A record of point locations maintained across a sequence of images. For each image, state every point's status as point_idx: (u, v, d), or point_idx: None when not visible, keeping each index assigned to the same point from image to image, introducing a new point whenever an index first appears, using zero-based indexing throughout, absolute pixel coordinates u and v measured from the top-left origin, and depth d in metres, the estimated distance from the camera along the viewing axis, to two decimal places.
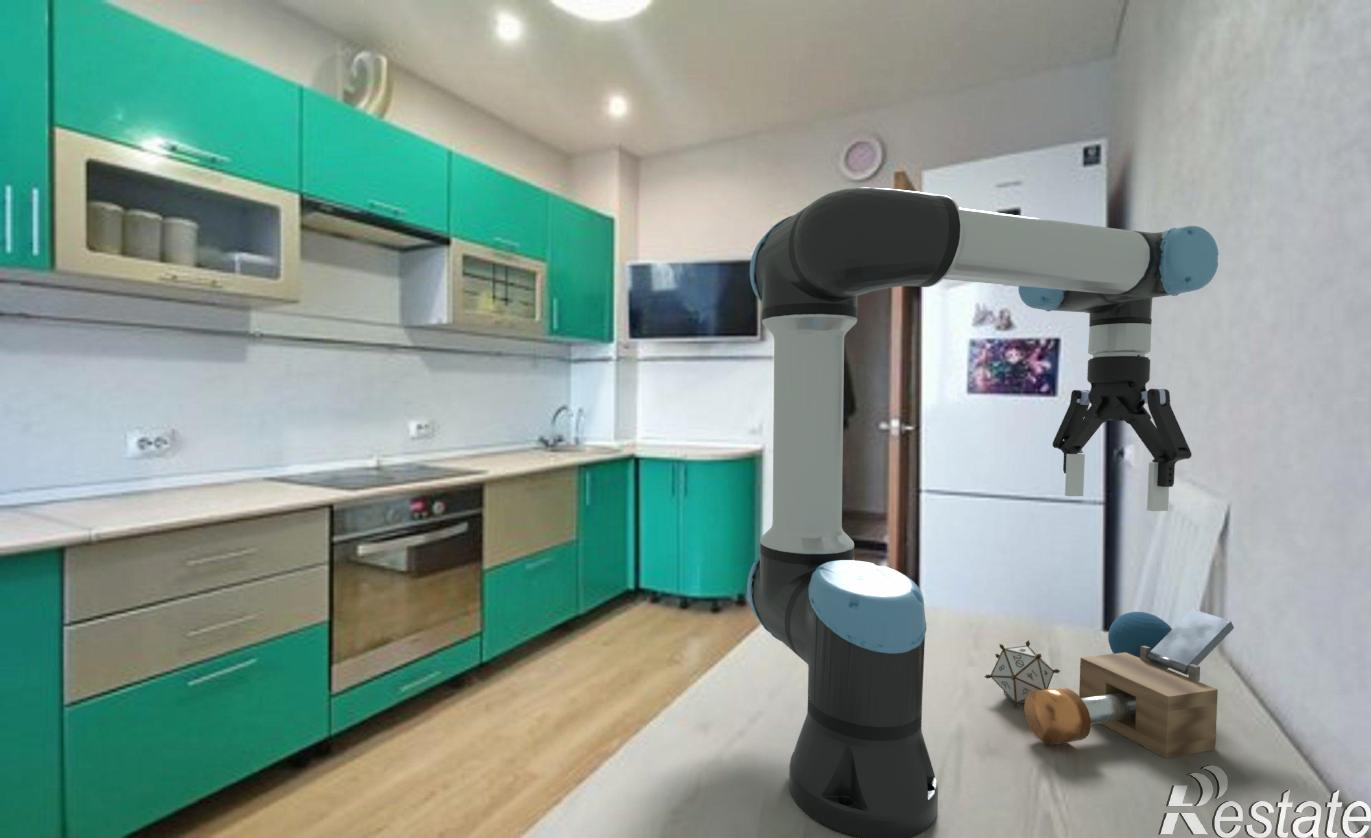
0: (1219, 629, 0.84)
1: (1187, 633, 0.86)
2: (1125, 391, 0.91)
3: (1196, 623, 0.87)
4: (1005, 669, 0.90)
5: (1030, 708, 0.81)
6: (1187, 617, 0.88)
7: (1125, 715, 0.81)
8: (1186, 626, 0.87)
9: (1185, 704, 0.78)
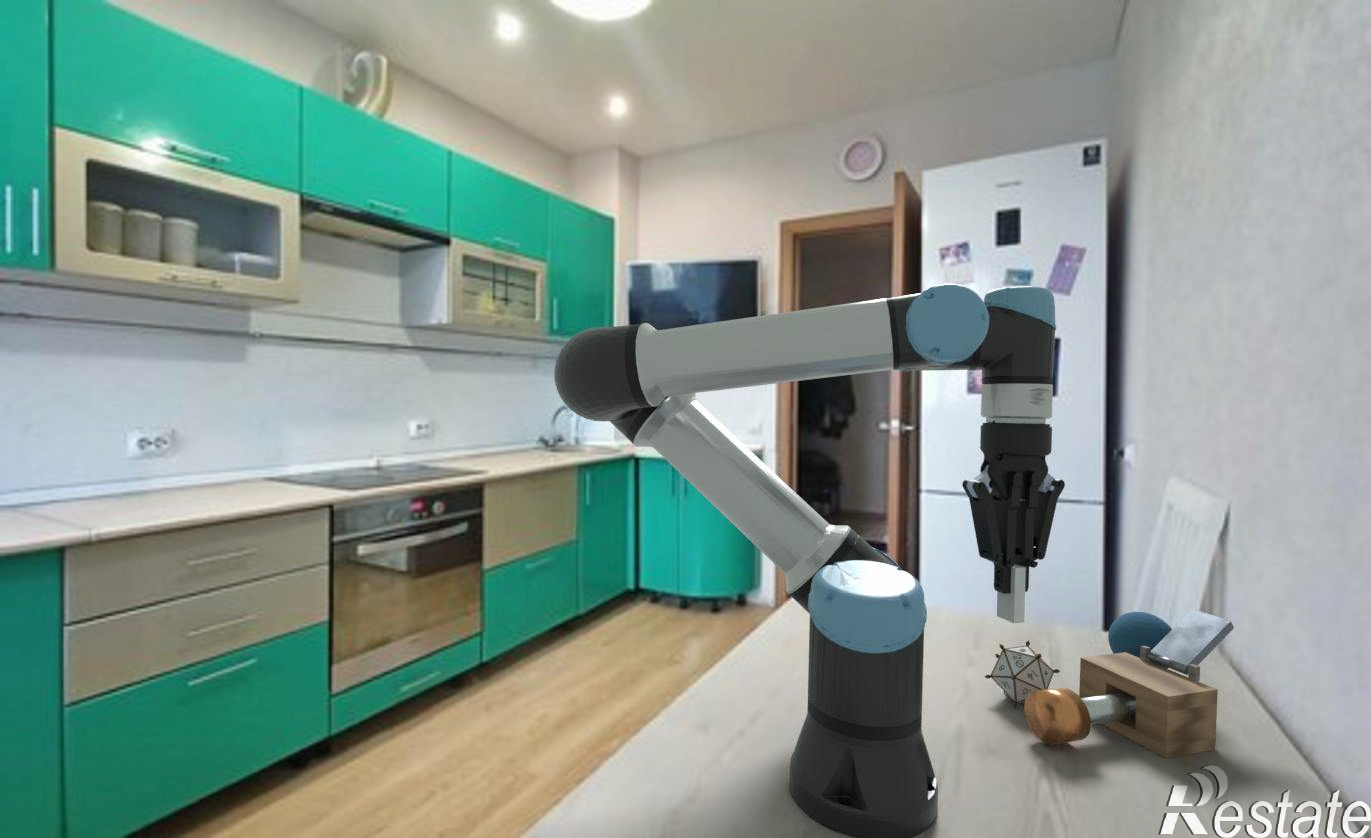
0: (1219, 629, 0.84)
1: (1187, 633, 0.86)
2: None
3: (1196, 623, 0.87)
4: (1005, 669, 0.90)
5: (1030, 708, 0.81)
6: (1187, 617, 0.88)
7: (1125, 715, 0.81)
8: (1186, 626, 0.87)
9: (1185, 704, 0.78)
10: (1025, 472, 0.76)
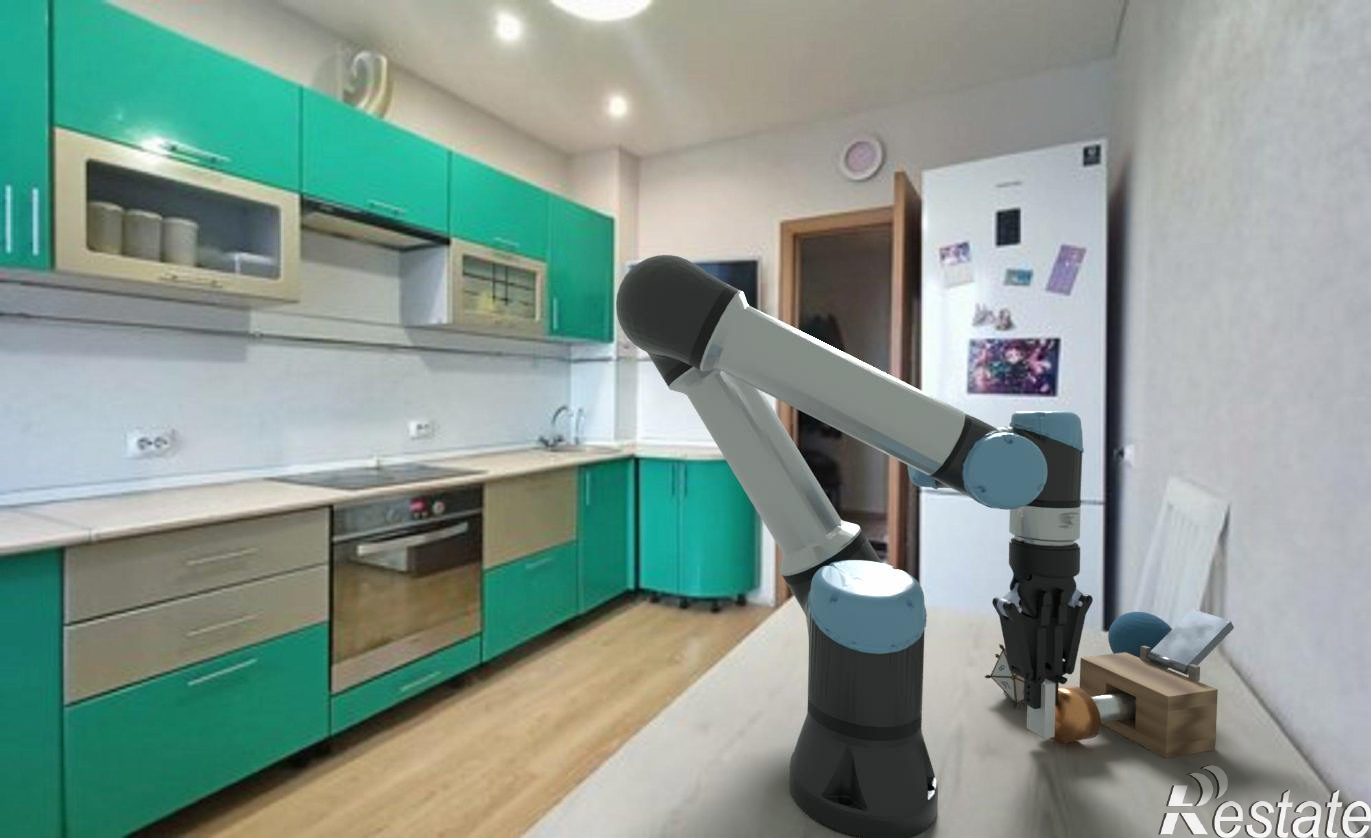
0: (1219, 629, 0.84)
1: (1187, 633, 0.86)
2: None
3: (1196, 623, 0.87)
4: (1005, 669, 0.90)
5: None
6: (1187, 617, 0.88)
7: (1135, 713, 0.81)
8: (1186, 626, 0.87)
9: (1185, 704, 0.78)
10: (1054, 590, 0.77)
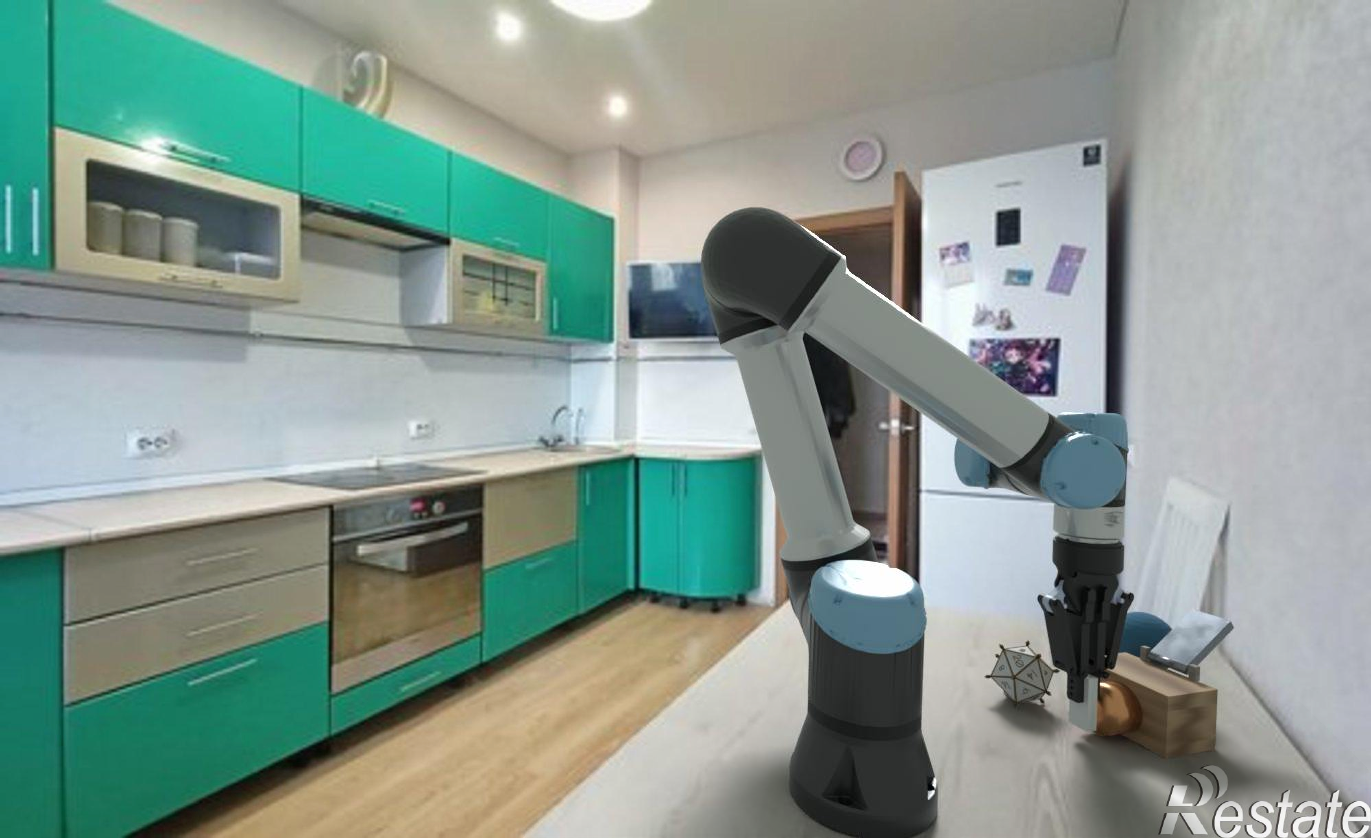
0: (1219, 629, 0.84)
1: (1187, 633, 0.86)
2: None
3: (1196, 623, 0.87)
4: (1005, 669, 0.90)
5: None
6: (1187, 617, 0.88)
7: None
8: (1186, 626, 0.87)
9: (1185, 704, 0.78)
10: (1097, 587, 0.79)
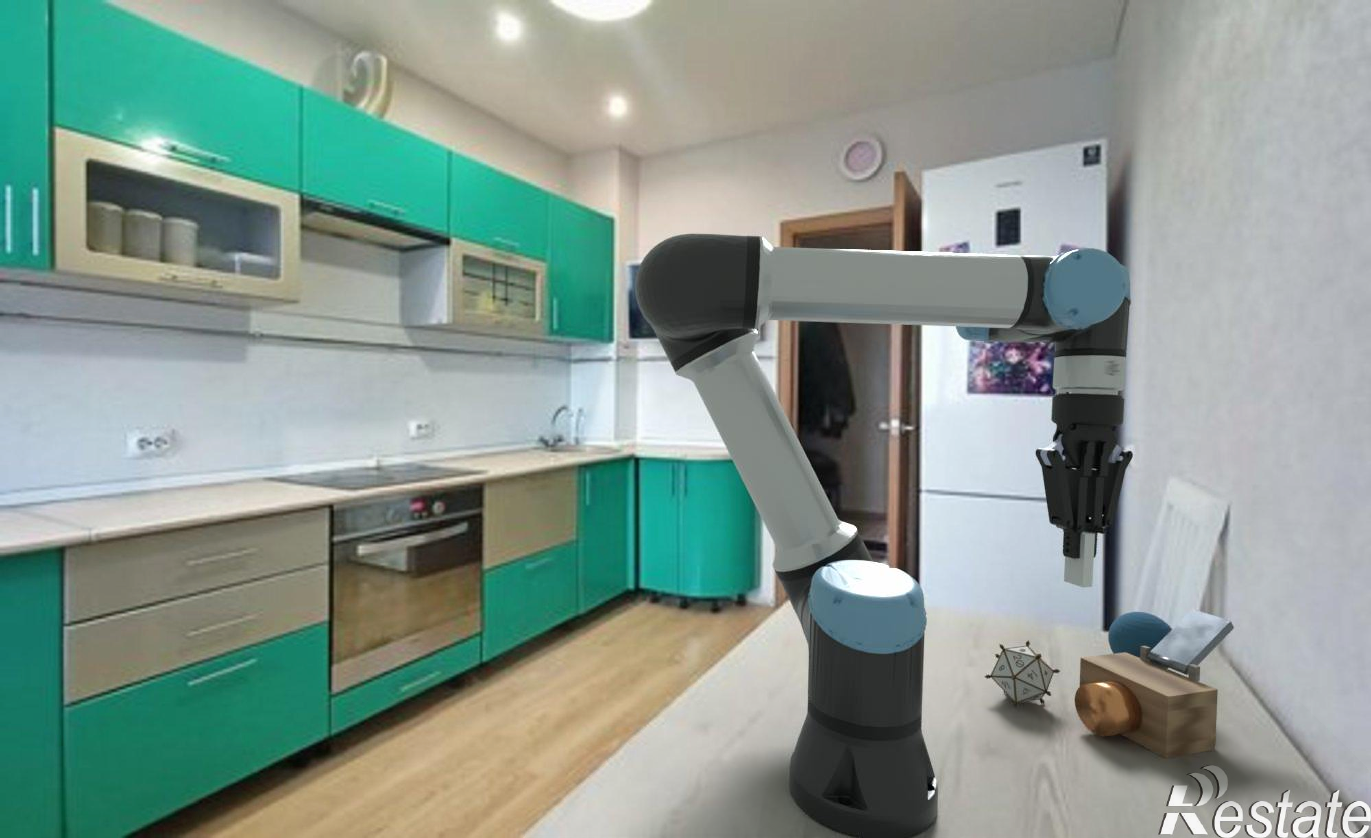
0: (1219, 629, 0.84)
1: (1187, 633, 0.86)
2: None
3: (1196, 623, 0.87)
4: (1005, 669, 0.90)
5: (1080, 701, 0.83)
6: (1187, 617, 0.88)
7: None
8: (1186, 626, 0.87)
9: (1185, 704, 0.78)
10: (1096, 442, 0.79)
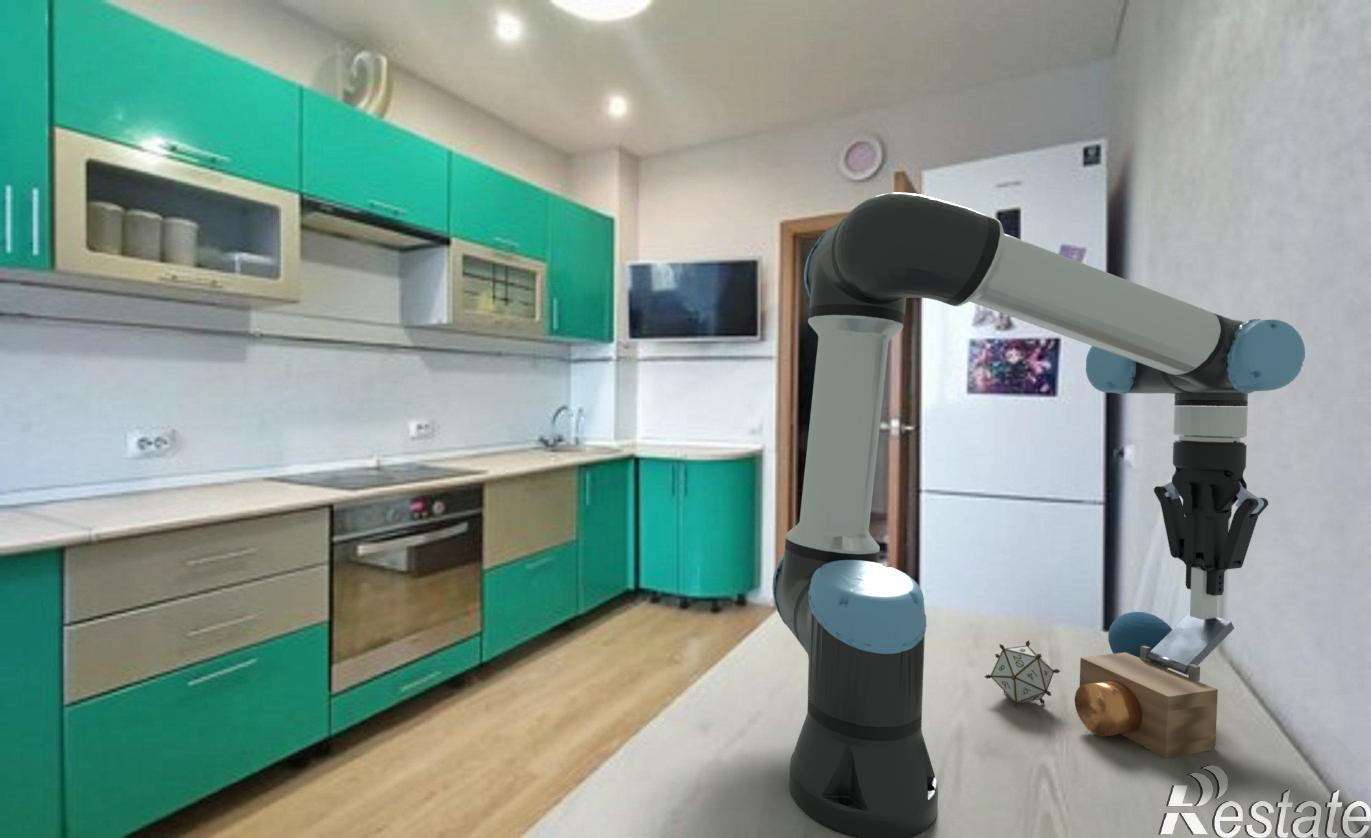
0: (1219, 630, 0.84)
1: (1187, 633, 0.86)
2: (1225, 478, 0.82)
3: (1196, 623, 0.87)
4: (1005, 669, 0.90)
5: (1080, 701, 0.83)
6: (1187, 617, 0.88)
7: None
8: (1186, 627, 0.87)
9: (1185, 704, 0.78)
10: None
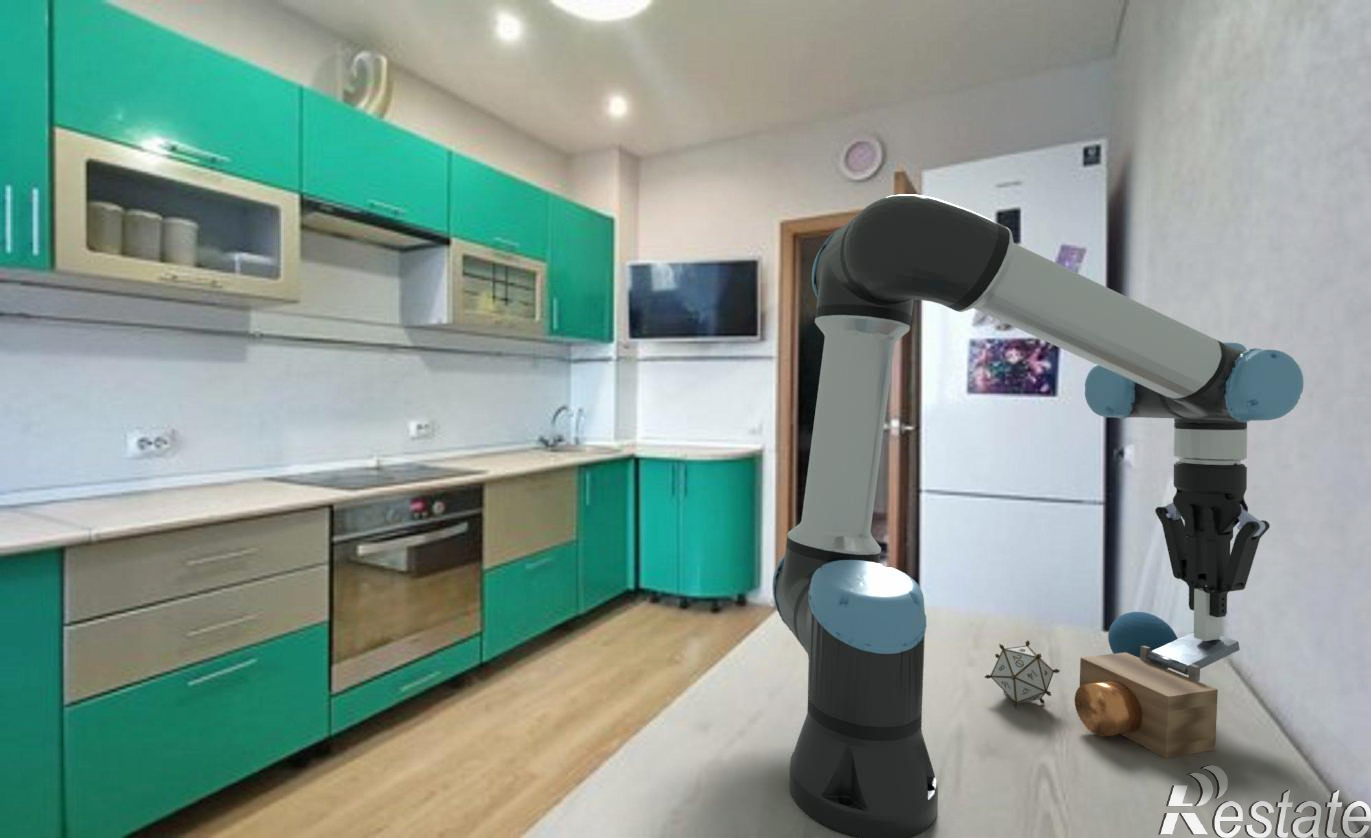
0: (1225, 645, 0.84)
1: (1192, 643, 0.86)
2: (1226, 500, 0.83)
3: None
4: (1005, 669, 0.90)
5: (1080, 701, 0.83)
6: (1193, 633, 0.89)
7: None
8: (1191, 639, 0.87)
9: (1185, 704, 0.78)
10: None
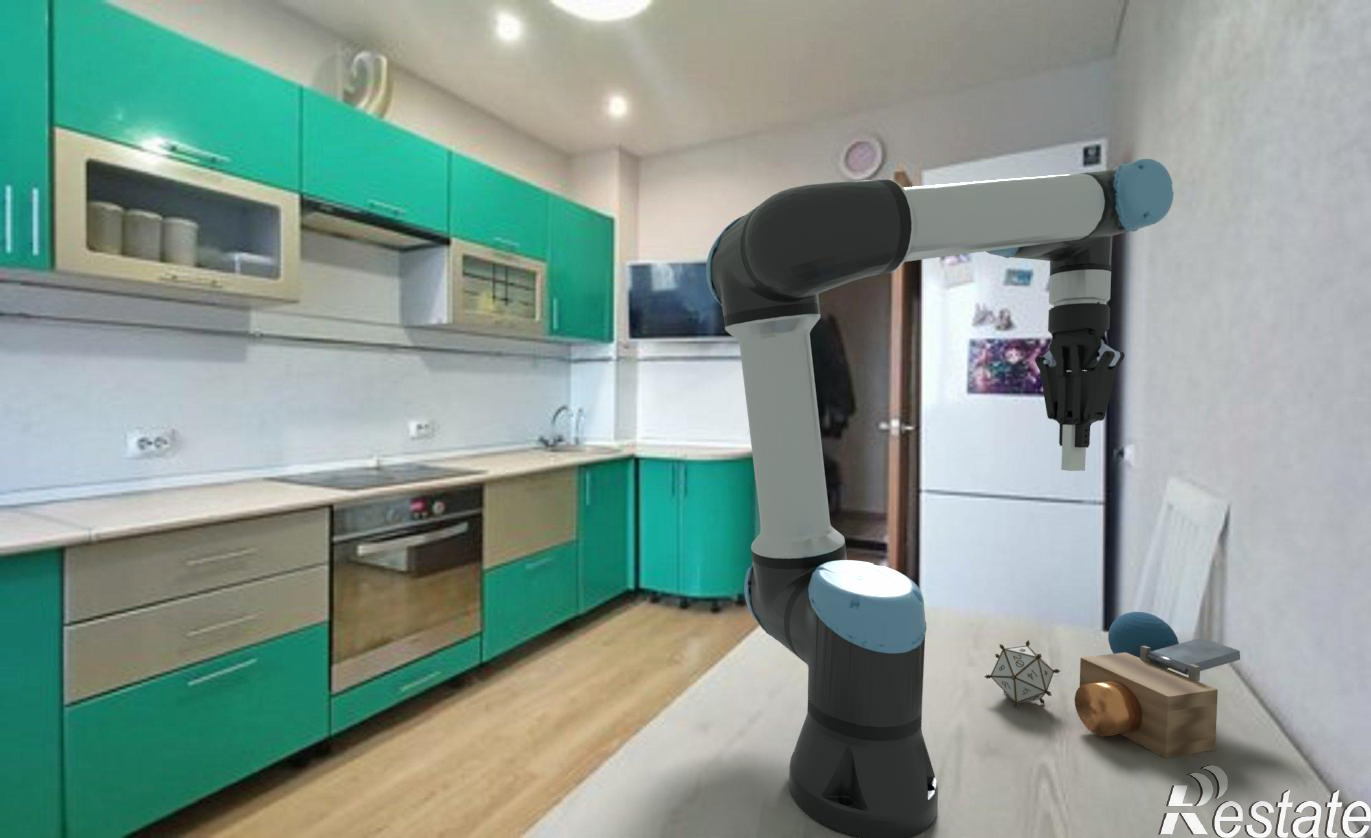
0: (1226, 653, 0.85)
1: (1193, 648, 0.87)
2: (1089, 336, 0.90)
3: (1203, 645, 0.87)
4: (1005, 669, 0.90)
5: (1080, 701, 0.83)
6: (1194, 640, 0.89)
7: None
8: (1192, 645, 0.87)
9: (1185, 704, 0.78)
10: None
